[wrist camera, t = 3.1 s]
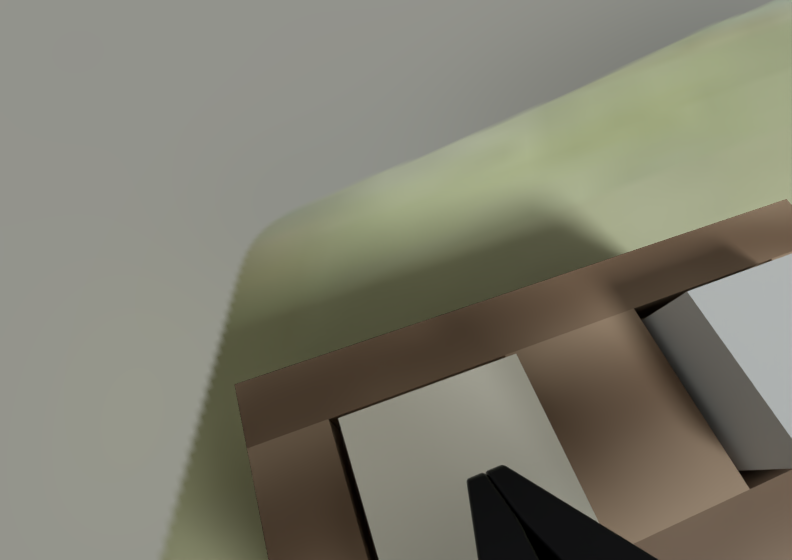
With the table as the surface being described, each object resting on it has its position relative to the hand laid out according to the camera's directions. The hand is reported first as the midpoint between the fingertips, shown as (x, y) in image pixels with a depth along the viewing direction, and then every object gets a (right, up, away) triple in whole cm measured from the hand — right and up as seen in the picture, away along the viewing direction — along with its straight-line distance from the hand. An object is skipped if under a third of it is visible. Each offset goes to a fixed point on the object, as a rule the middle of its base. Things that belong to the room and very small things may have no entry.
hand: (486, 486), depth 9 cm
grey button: (+10, +1, +6) cm, 12 cm away
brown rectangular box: (+5, -3, +12) cm, 13 cm away
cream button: (0, -2, +4) cm, 5 cm away
